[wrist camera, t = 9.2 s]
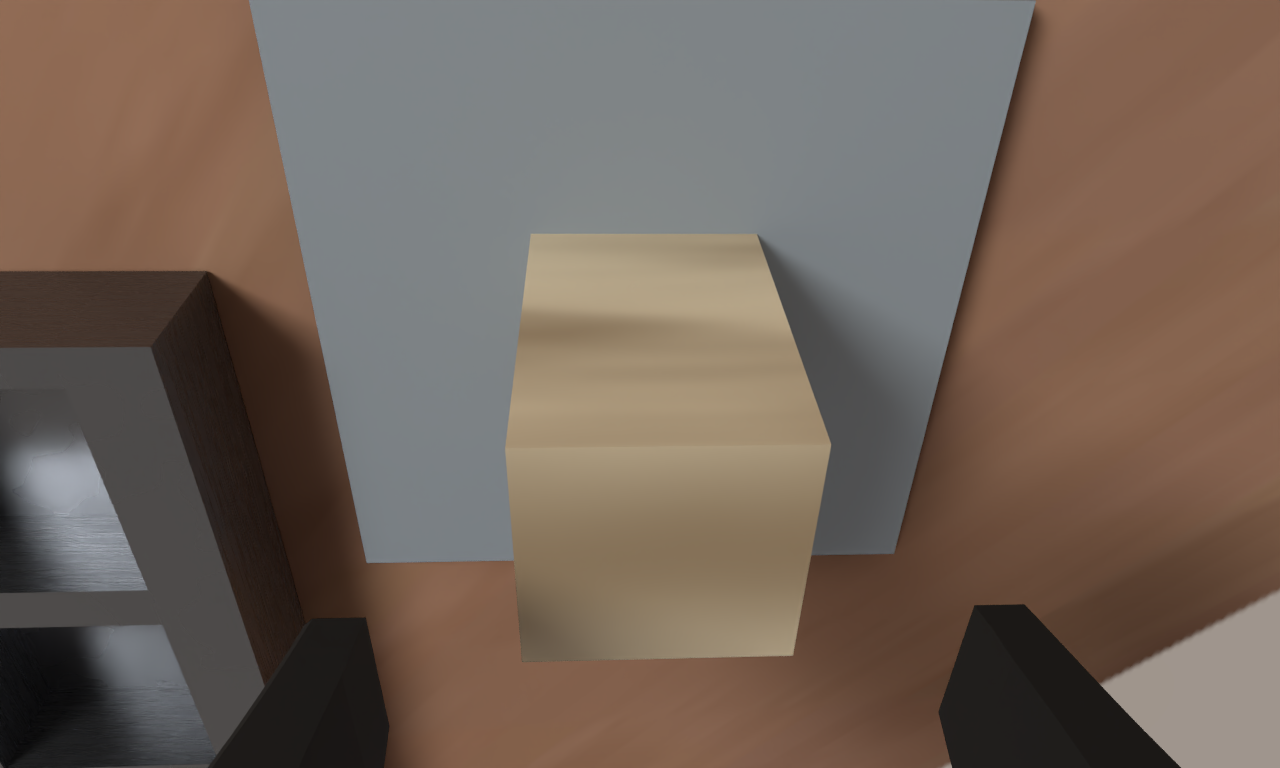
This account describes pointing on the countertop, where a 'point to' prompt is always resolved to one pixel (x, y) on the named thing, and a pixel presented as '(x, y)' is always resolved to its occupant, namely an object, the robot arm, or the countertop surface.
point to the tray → (129, 526)
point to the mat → (627, 211)
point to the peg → (659, 451)
